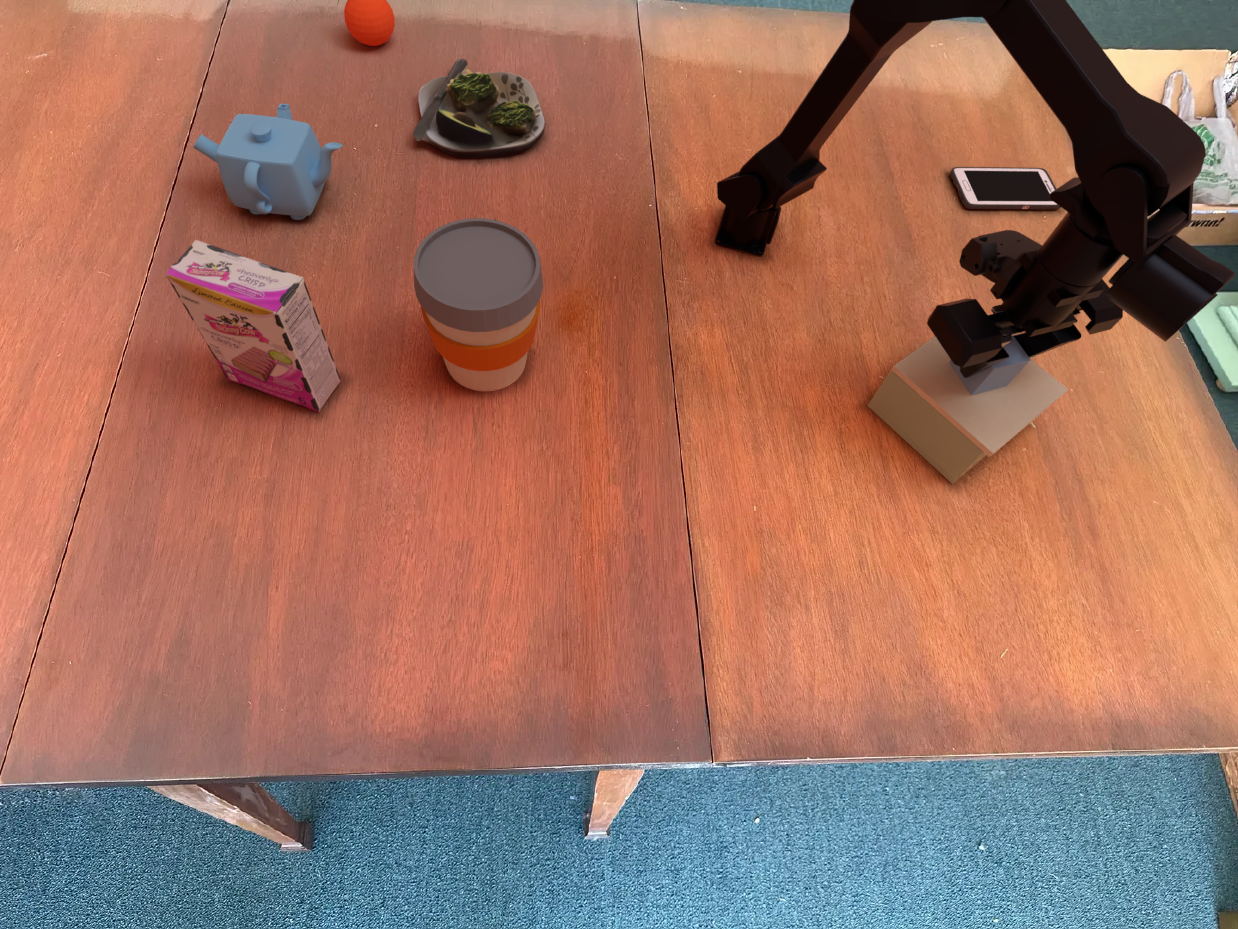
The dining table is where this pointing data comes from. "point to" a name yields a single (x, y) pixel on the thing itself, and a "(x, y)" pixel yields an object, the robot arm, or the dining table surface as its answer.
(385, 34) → the clementine
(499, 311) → the reusable coffee cup
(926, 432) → the chest
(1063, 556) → the dining table surface
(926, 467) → the dining table surface
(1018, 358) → the block
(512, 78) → the avocado toast plate
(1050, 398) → the lid
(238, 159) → the teapot
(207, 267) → the candy bar box
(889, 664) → the dining table surface
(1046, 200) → the cell phone
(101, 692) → the dining table surface
